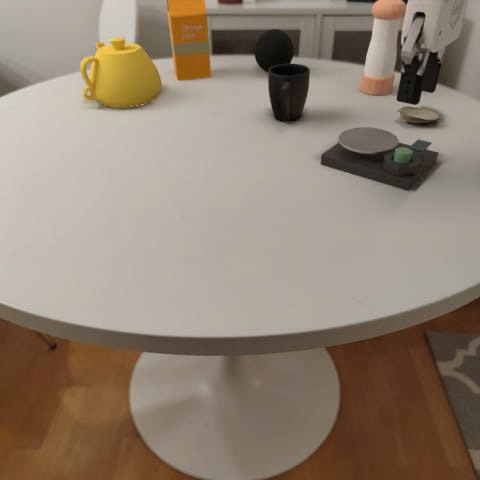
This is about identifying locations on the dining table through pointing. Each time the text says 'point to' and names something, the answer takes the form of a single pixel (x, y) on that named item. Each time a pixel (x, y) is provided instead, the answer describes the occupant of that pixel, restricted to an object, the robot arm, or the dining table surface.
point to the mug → (288, 90)
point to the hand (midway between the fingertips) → (416, 95)
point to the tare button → (403, 155)
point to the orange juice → (189, 38)
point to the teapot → (120, 75)
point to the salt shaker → (382, 47)
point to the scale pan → (374, 141)
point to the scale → (381, 165)
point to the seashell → (417, 115)
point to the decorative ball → (273, 49)
